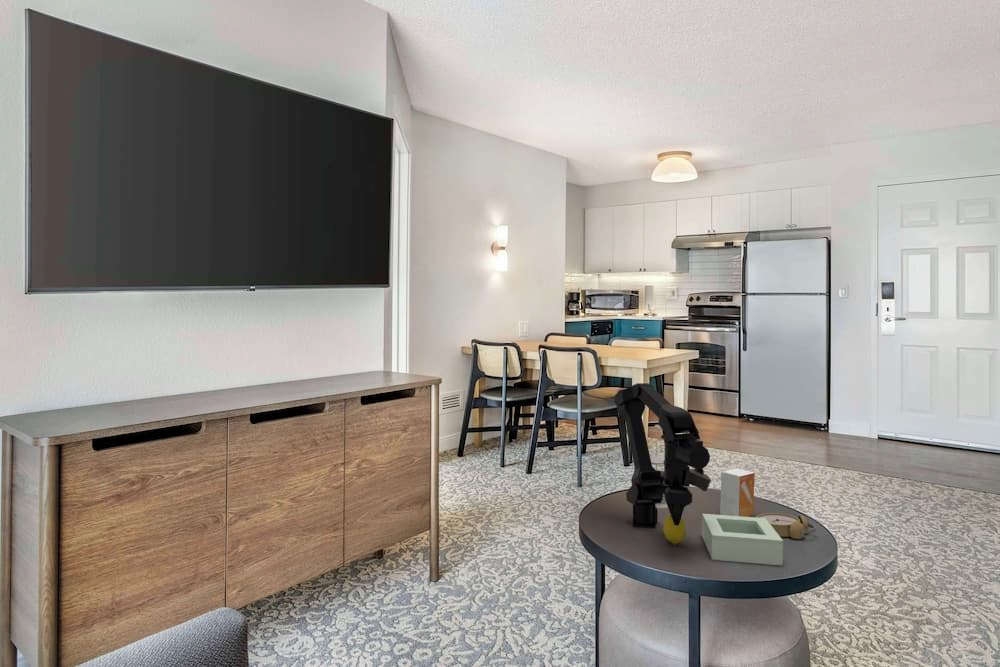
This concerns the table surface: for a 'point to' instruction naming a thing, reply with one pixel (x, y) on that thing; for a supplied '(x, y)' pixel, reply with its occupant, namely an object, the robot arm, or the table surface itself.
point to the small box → (737, 493)
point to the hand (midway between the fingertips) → (674, 519)
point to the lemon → (674, 530)
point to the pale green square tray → (741, 539)
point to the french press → (658, 460)
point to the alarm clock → (788, 524)
